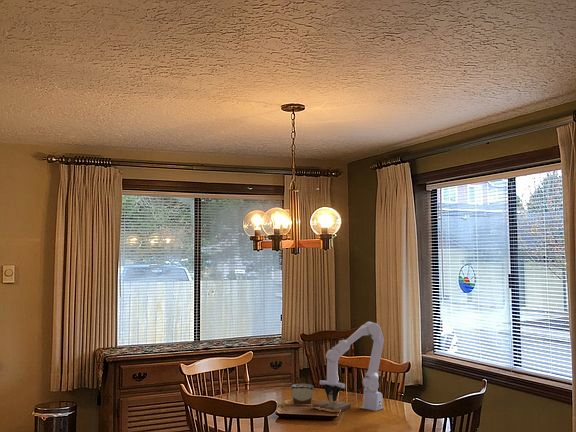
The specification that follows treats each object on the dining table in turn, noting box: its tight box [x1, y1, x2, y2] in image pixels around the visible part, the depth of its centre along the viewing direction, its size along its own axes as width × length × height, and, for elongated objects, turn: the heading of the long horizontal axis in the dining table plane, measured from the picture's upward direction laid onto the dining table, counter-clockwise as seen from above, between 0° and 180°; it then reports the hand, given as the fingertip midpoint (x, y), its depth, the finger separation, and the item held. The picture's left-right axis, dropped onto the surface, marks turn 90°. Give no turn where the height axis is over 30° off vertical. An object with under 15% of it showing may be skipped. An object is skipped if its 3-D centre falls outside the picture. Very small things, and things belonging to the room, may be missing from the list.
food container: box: [290, 383, 315, 405], centre depth 319 cm, size 12×6×10 cm, turn 84°
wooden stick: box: [329, 392, 335, 405], centre depth 309 cm, size 2×2×8 cm
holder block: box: [312, 399, 352, 413], centre depth 309 cm, size 14×14×2 cm
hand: (331, 400), depth 309 cm, fingers closed on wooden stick, 2 cm apart
